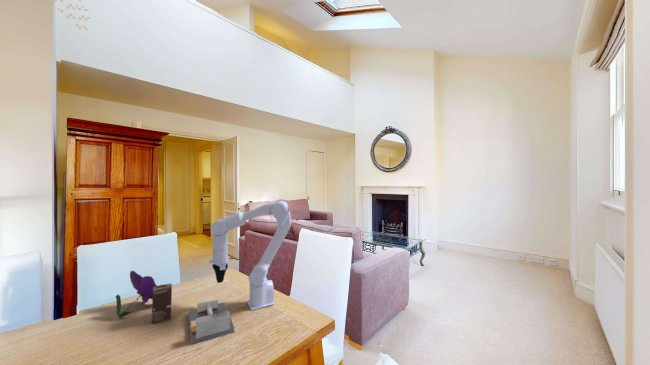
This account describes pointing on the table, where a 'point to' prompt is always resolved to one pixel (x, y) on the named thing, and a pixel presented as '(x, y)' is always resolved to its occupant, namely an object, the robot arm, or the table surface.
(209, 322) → the sloped base with peg
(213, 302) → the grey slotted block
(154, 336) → the table surface
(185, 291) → the table surface
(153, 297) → the box
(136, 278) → the flower
